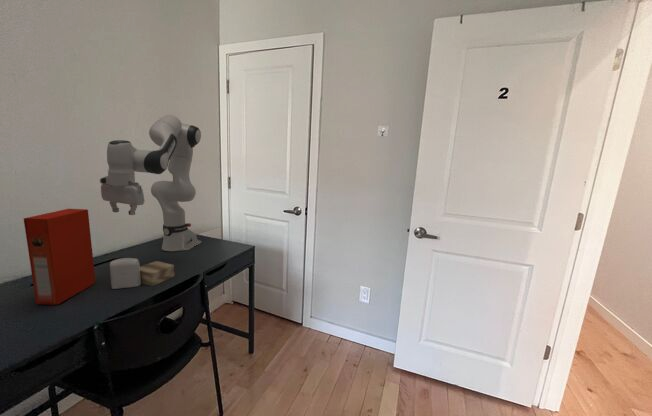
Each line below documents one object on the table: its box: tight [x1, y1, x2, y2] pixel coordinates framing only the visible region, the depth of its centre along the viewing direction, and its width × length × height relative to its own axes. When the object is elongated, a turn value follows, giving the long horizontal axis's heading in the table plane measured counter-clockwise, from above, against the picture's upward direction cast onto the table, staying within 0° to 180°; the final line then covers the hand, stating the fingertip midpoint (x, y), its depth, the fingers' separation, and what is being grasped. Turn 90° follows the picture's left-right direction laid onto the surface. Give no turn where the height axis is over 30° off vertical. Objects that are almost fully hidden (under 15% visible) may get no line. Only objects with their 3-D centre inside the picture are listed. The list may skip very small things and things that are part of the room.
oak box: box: [140, 260, 175, 287], centre depth 125 cm, size 11×11×6 cm
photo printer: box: [109, 257, 142, 290], centre depth 116 cm, size 10×4×12 cm, turn 113°
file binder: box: [23, 208, 96, 306], centre depth 106 cm, size 8×17×32 cm, turn 2°
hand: (123, 213), depth 117 cm, fingers open, 8 cm apart
